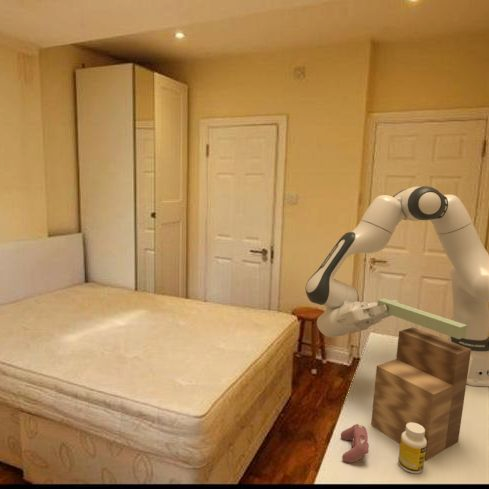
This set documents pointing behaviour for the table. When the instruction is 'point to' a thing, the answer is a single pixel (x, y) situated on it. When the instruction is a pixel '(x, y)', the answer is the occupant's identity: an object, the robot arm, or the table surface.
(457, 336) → the bar
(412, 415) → the pedestal
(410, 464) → the supplement bottle
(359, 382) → the table surface
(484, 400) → the table surface
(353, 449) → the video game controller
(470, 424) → the table surface
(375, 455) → the table surface
